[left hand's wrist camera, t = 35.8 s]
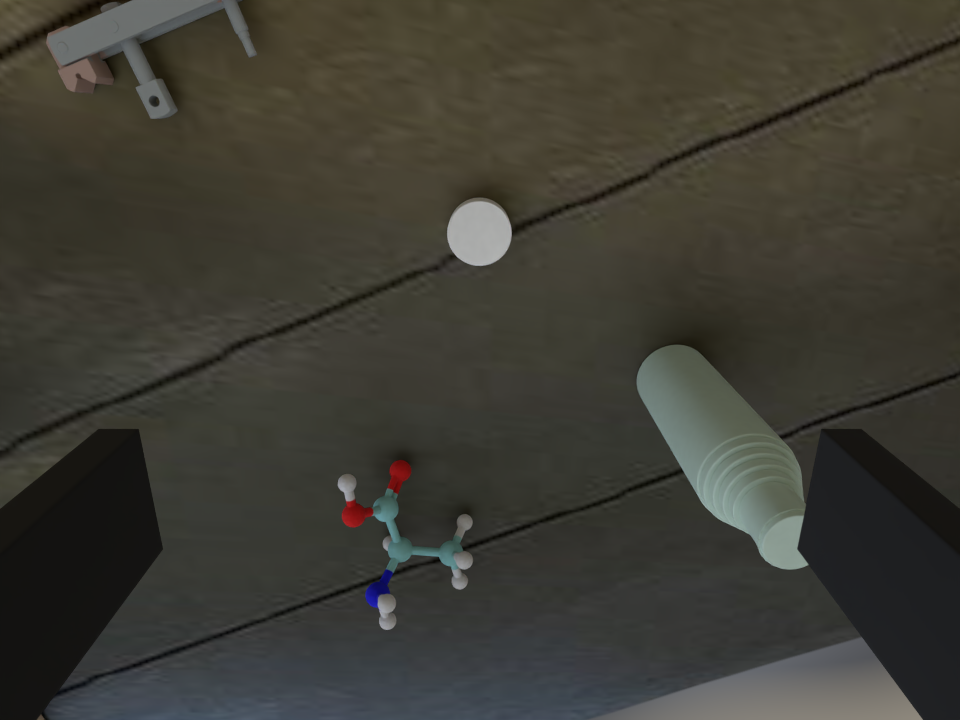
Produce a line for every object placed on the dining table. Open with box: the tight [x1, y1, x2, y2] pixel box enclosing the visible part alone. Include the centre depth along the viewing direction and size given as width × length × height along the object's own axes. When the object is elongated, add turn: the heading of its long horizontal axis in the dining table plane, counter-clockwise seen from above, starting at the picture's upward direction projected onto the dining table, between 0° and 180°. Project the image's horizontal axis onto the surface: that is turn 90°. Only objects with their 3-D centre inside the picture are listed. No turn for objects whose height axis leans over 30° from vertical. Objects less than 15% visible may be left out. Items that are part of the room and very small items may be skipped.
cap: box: [447, 198, 512, 266], centre depth 42 cm, size 4×4×2 cm
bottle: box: [637, 345, 808, 569], centre depth 38 cm, size 5×5×19 cm
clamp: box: [46, 0, 257, 119], centre depth 37 cm, size 15×2×10 cm
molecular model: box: [338, 460, 473, 630], centre depth 47 cm, size 12×10×10 cm
